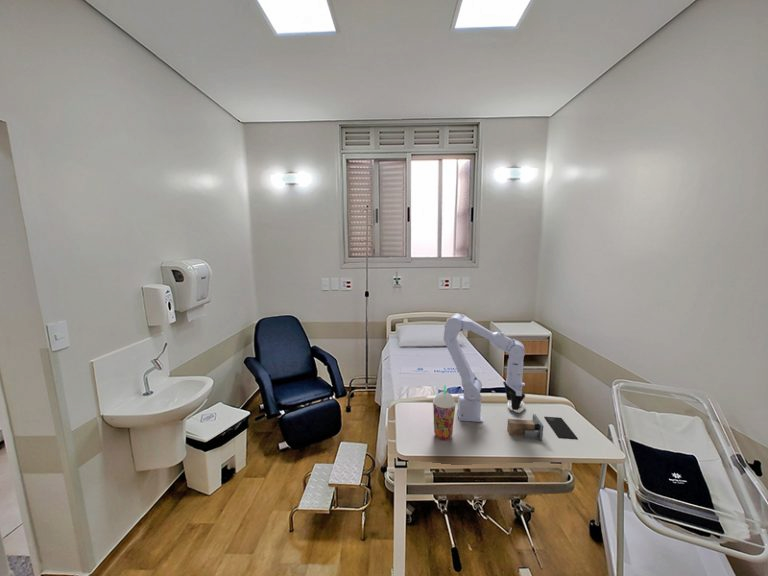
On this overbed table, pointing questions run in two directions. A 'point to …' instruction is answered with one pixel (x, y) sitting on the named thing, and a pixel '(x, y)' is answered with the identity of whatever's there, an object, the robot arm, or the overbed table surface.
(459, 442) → the overbed table surface
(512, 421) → the brown rectangular block
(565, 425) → the smartphone
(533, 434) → the bracket
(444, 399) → the smoothie
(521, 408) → the baby figurine
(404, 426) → the overbed table surface
